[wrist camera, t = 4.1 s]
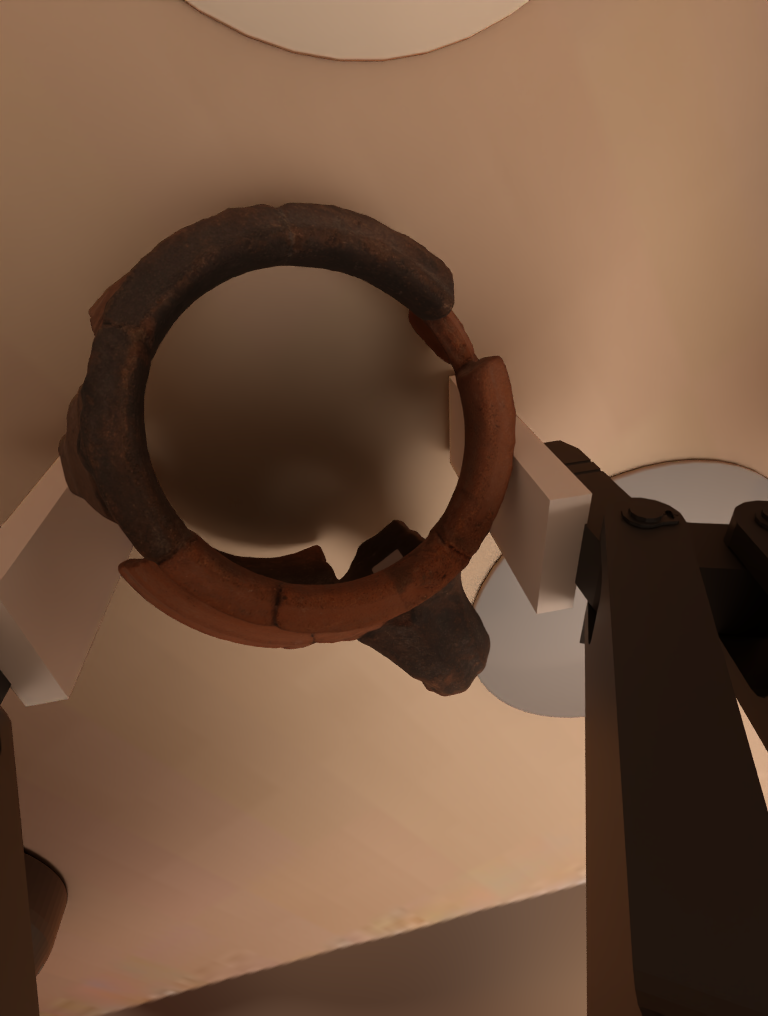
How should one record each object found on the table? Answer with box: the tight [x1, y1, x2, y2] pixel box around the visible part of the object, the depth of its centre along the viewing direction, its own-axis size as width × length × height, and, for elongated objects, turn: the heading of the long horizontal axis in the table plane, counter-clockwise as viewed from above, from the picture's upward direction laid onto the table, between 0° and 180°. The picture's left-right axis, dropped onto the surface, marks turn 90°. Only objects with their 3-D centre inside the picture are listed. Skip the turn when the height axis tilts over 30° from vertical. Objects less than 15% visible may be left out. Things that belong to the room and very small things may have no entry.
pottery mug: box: [58, 203, 516, 696], centre depth 13 cm, size 12×10×8 cm
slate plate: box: [473, 460, 768, 718], centre depth 21 cm, size 14×14×1 cm
